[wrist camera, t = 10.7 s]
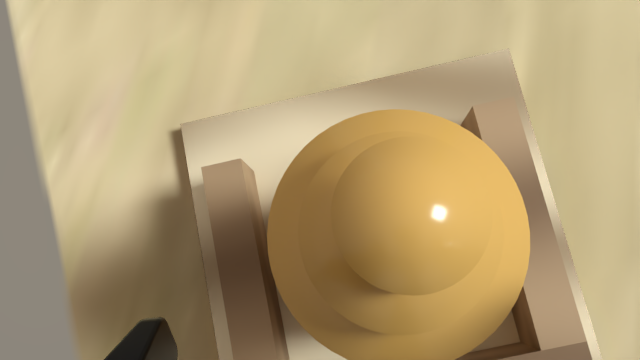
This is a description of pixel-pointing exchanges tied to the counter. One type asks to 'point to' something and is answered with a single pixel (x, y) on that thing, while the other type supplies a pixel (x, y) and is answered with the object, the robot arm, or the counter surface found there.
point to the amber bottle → (398, 238)
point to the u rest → (303, 126)
